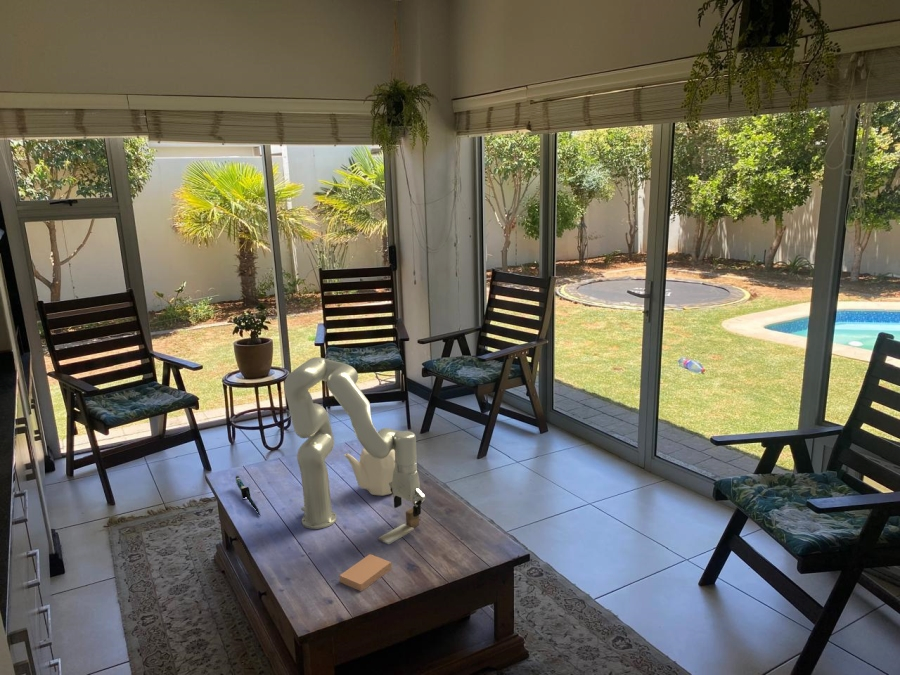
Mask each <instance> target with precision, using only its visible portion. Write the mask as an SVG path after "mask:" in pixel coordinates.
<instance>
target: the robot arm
mask: <svg viewBox="0 0 900 675" xmlns="http://www.w3.org/2000/svg"><path fill="white" fill-rule="evenodd" d="M321 381H323V382H325V383H326V386H327V389H328V390H329V392H330V393H331V394H332V396H333V397H334V399H335V400H336V401H337V402H338V404H339V405H340V406H341V408H342V409H343V410H344V411H345V412H346V414H347V416H348V417H349V418H350V419H349V420H350V423H351V425H352V428H353V431H354V433H355V436H356V437H357V438H356V439H357V440H358V442H359V443H360V445H361V446H362V447H363V449H364V448H365V450H366V451H367V452H368V453H369V454H370V455H371V456H372V457H374V458H376V459H383V458H385V457H387V456H388V454H389V453H390V451H391V450H393V449H394V450H395V461H394V462H395V468H394V471H393V478H392V482H390V483H389V486H390V488H391V489H390V490H391V492H392V493H391V494H392V497H393V507H394V509H397V508H399V507H401V506H402V499H403V500H405V501H408V502H412V504H413V506H412V508H413V516H414V517H416V516H418V515H419V516H420V515H421V513H422V508H421V507H422V505H423V504H424V502H425V499H426V495H425V494H424V493H423V492H422V490H421V485H420V484H421V482H420V476H419V471H418V470H417V469H418V468H417V467H418V466H417V464H418V463H417V462H418V461H417V437H416V436H417V435H416V434H415V433H414V432H413V431H410V430H409V431H408V430H403V431H400V430H396V429H393V428H389V427H385V428H381V429H379V430H378V431H377V430H376V428H375V426H374V424H373V420H372V417H371V416H372V414H371V412H372V411H371V410H372V409H371V403H370V401H369V400H368V398H367V397H366V396H365V394H364V393H363V392H362V390H361V389H360V388H359V386H358V385H357V382H358V381H359V373H358V372H357V370H356V369H355V368H354V367H353V366H351V365H350V364H347V363H344V362H340V361H336V360H332V359H328V358H323V357H320V356H318V357H311V358H309V359H308V360H306V361H305V362H303V363H302V364H301V365H299V366H298V367H296V368H295V369H293V370H292V371H291V372H290V373H289V374H288V375H287V377H285V380H284V384H283V390H284V395H285V399H286V402H287V405H288V410H289V414H290V417H291V421H292V426H293V429H294V432H295V434H296V436H297V437H299V438H301V439H306V440H305V441H303V443H302V444H301V445H300V447H299V448H298V450H297V454H296V460H297V464H298V467H299V471H300V477H301V486H302V495H303V504H304V505H303V506H301V508H300V510H301V511H302V512H303V513H304V516H303V517H302V519H301V525H302V526H303V527H305V528H306V529H311V530H319V529H324V528H328V527H330V526H331V525H333V524H334V523H336V521H337V518H338V517H337V514H336V512H334V511H332V510H333V509H332V501H331V500H332V499H331V489H330V480H329V479H330V478H329V472H328V468H327V465H326V459H327V457H328V456H329V455H330V453H331V452H332V451H333V450H334V447H335V438H334V435H333V430H332V425H331V421H330V416H329V414H328V411H327V410H326V409H325V408H324V406H322V405H321V404H319V403H316V402H315V403H314V400H313V397H312V395H311V393H310V392H309V389H311V388H312V387H314V386H315V385H317V384H319V383H320V382H321Z"/></svg>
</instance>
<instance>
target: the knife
mask: <svg viewBox="0 0 900 675" xmlns="http://www.w3.org/2000/svg"><path fill="white" fill-rule="evenodd" d="M235 481H236V485H237V486H238V487H237V488H239V490H240V493H241V499H242V498H245V497H247V499H246V500H249V501H248V502H249V504H250V503H251V504H250V505H251V506H253V507H254V508H255V509H256V511H257V512H258V513H257V512H256V511H255V512H256V513H257V515H258V514H259V515H260V516H259V515H258V516H259V517H261V513H260V510H259V508H258V506H257V505H256V503H255V501H254V500H253V498H252V497H251V492H250V487H249V486H245V485H244V482H243V481H242V479H241V478H240V476H239V475H236V476H235ZM253 507H252V508H253ZM254 508H253V509H254Z"/></svg>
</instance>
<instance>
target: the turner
mask: <svg viewBox="0 0 900 675" xmlns="http://www.w3.org/2000/svg"><path fill="white" fill-rule="evenodd" d="M419 525H420V515H418V516H416V517H414V516H413V507H411V508H410V509H408V510H406V511H405V523H403V524H401V525H399V526H397V527H395V528H394V529H391V530H390V531H388V532H386V533H385V534H382V535H381V536H379V537H378V540H379V541H381V542H382V543H385V544H387V545H390V544H392V543H393V542H395V541H397V540H399V539H401V538H403V537H405V536H406V535H408V534H409V533H411V532H413V531H415V528H416V527H417V526H419Z"/></svg>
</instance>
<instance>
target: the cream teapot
mask: <svg viewBox="0 0 900 675" xmlns="http://www.w3.org/2000/svg"><path fill="white" fill-rule="evenodd" d="M344 457H345V458H346V459H347V461H348V462H349V464H350V465H351V467H352V471H353V474H354V477H355V479H356V481H357V485H358V486H359V488H361V489H363V490H367V491H368V492H369V493H370V495H372V496H373V495H374V496H381V497H382V496H387V495H390V494H392V492H391V490H390V489H391V488H390V486H389V483H390V482H392V478H393V471H394V468H395V462H394V461H395V450H394V449H393V450H391V451H390V453H389V454H388V456H387V457H385V458H383V459H376V458H374V457H372V456H371V455H370V454H369V453H368V452H367V451H366V450H365V448H364V447H363V449H362V450H361V453H360V456H359V458H360V459H359V460H358V459H356V458H355V457H354V456H353V455H351V454H350V453H345V454H344Z"/></svg>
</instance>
